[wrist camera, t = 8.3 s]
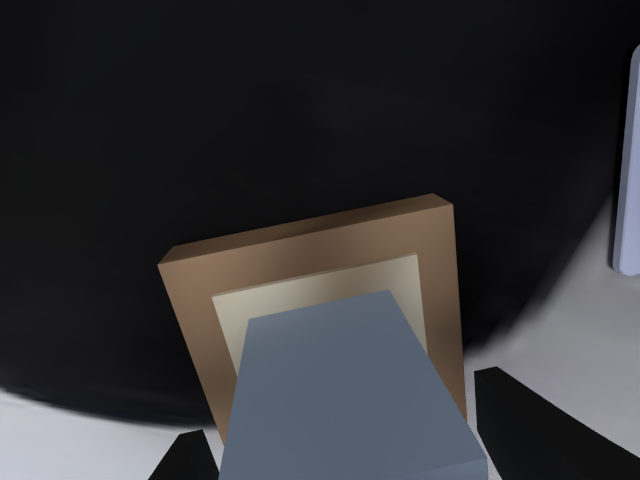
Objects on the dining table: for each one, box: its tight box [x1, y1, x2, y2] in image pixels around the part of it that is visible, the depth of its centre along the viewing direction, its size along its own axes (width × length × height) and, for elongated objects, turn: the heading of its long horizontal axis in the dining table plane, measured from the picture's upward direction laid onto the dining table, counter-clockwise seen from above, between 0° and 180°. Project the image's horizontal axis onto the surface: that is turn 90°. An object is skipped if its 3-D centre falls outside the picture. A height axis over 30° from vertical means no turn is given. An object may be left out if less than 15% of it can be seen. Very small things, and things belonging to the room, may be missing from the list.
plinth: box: [158, 193, 467, 447], centre depth 13 cm, size 9×9×2 cm
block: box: [218, 289, 488, 480], centre depth 9 cm, size 4×4×6 cm
